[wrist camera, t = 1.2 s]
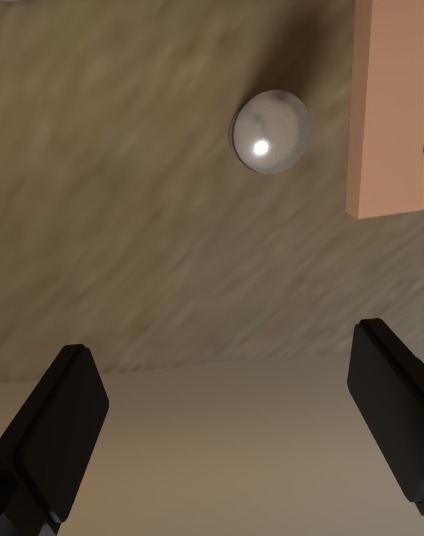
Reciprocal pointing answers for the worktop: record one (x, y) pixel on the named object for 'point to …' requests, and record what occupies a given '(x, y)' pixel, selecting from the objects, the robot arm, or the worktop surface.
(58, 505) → the robot arm
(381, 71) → the pink square holed slab
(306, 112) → the piston
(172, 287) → the worktop surface
